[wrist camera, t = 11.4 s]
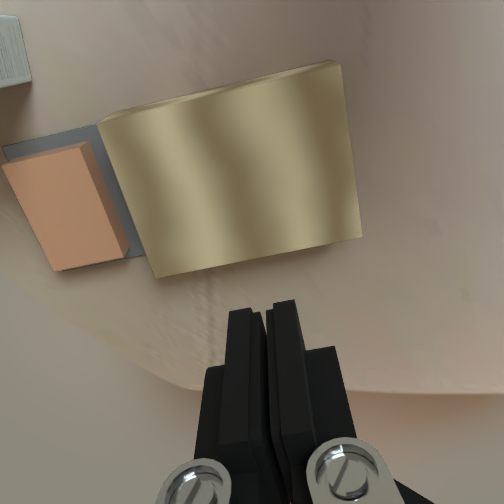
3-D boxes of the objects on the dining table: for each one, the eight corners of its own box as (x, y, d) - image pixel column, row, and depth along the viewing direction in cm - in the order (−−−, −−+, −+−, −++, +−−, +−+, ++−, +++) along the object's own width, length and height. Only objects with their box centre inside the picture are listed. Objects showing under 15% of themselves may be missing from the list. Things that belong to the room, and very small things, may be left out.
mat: (115, 119, 33) (114, 120, 33) (162, 249, 38) (161, 250, 37) (3, 146, 34) (1, 147, 33) (63, 269, 39) (62, 271, 38)
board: (330, 59, 31) (341, 65, 27) (351, 215, 36) (362, 237, 33) (113, 112, 33) (96, 124, 29) (164, 254, 38) (155, 278, 34)
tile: (1, 165, 32) (14, 158, 34) (53, 271, 36) (63, 259, 38) (79, 147, 31) (88, 140, 33) (123, 257, 35) (130, 246, 37)
